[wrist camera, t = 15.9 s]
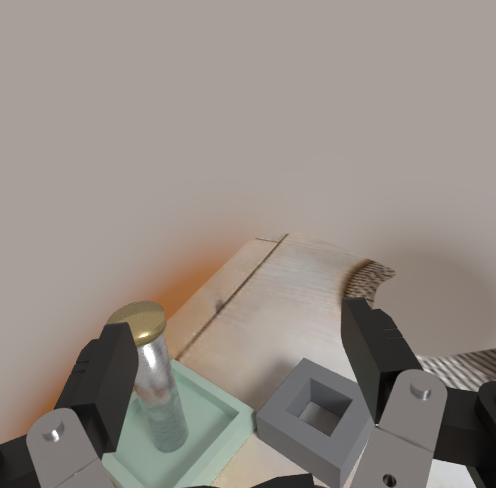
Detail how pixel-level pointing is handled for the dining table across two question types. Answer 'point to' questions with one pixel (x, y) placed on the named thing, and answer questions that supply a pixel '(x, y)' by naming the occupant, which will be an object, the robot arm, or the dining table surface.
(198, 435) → the tray
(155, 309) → the steel pin
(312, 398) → the socket block
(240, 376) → the dining table surface
